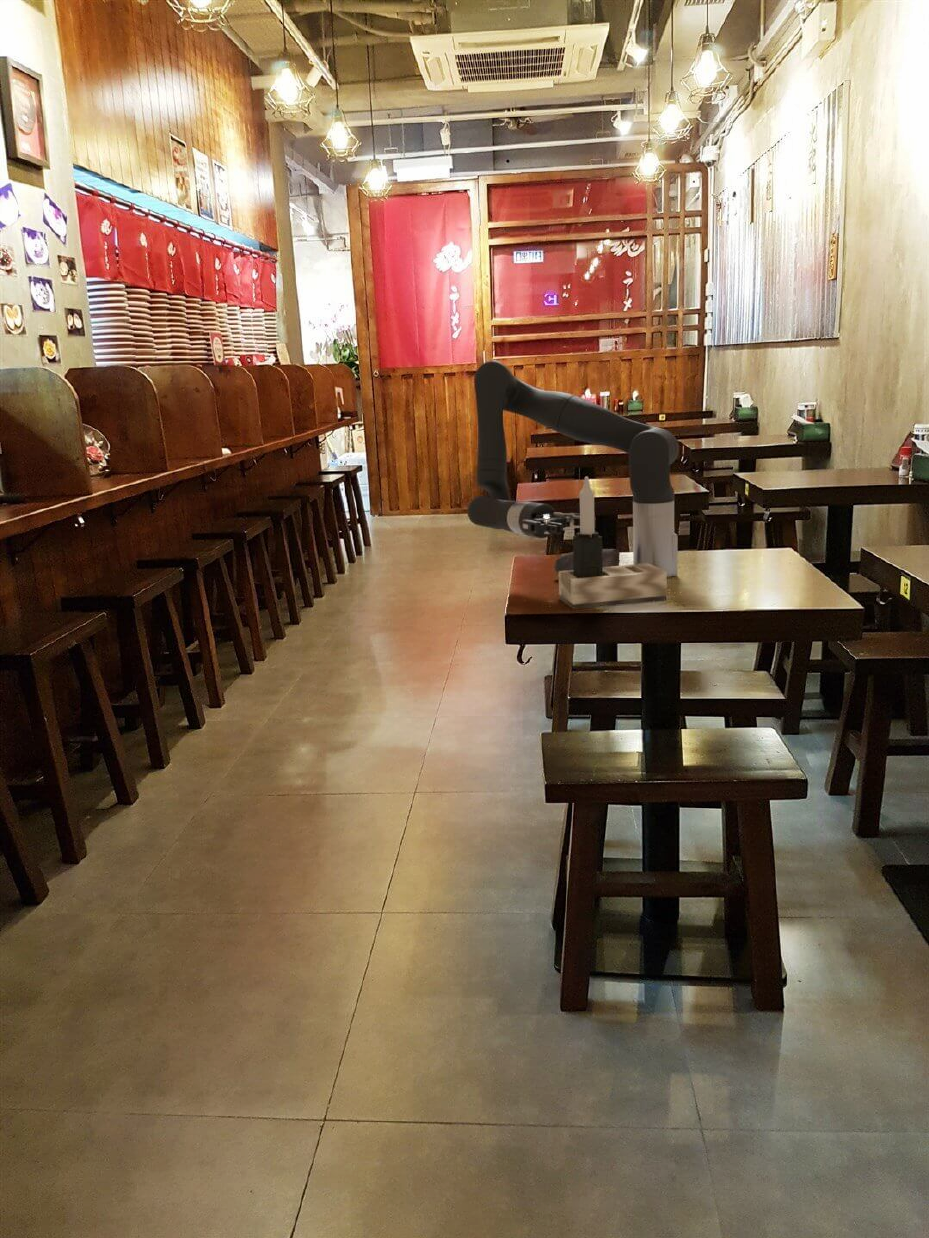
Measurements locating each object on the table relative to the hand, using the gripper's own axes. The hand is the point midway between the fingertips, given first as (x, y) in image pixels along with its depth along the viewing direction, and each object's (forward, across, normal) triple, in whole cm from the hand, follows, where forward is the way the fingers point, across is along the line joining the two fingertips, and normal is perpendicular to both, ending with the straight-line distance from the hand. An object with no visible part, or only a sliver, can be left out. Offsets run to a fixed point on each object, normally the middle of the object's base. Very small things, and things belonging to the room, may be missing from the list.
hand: (578, 526), depth 200 cm
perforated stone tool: (-15, +14, +16) cm, 26 cm away
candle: (+3, 0, +15) cm, 15 cm away
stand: (+5, +5, +16) cm, 17 cm away
